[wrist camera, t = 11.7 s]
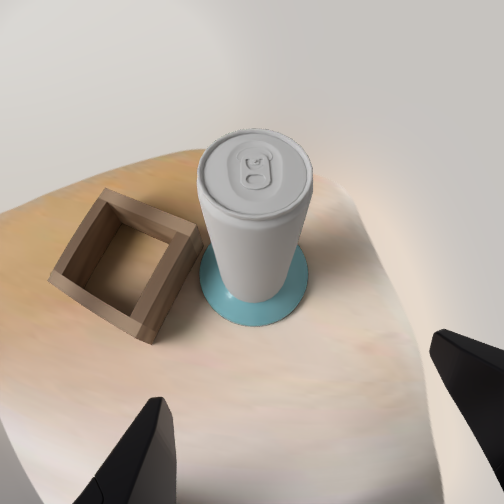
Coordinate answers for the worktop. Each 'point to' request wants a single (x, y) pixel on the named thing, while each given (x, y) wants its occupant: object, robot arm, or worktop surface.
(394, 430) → the worktop surface
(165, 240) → the square wooden frame
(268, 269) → the beverage can
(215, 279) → the teal disc
